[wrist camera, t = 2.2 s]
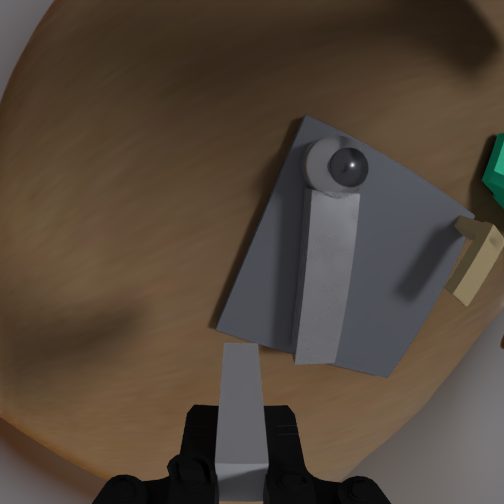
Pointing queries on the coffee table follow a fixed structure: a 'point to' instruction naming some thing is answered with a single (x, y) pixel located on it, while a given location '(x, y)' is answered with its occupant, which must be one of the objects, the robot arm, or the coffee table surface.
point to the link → (326, 245)
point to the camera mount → (496, 171)
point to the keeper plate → (361, 260)
